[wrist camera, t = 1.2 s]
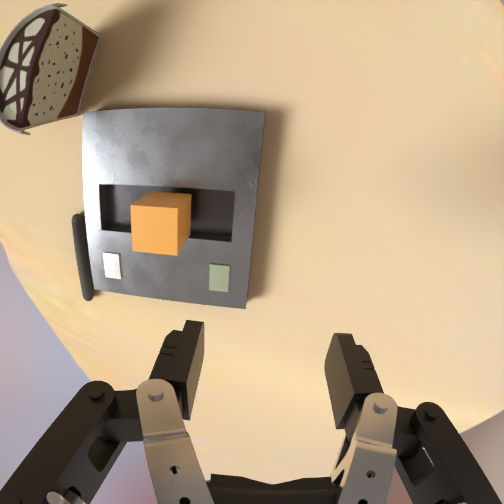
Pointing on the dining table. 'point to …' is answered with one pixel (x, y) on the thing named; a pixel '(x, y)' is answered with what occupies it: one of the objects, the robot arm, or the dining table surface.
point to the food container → (45, 68)
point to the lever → (161, 222)
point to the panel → (173, 181)
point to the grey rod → (82, 256)
